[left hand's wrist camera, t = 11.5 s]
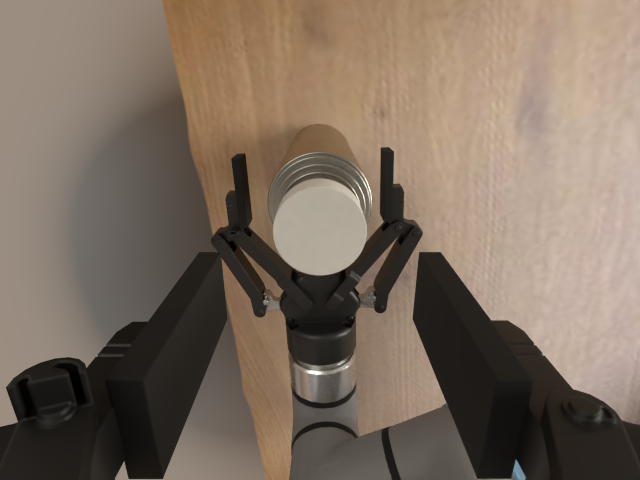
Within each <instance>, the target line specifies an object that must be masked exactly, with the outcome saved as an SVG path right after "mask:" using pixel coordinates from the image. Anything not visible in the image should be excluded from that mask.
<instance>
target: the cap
mask: <svg viewBox="0 0 640 480" xmlns="http://www.w3.org/2000/svg"><path fill="white" fill-rule="evenodd" d="M366 237H367V226H366V221H365V217H364V214H363V211H362V209H361V206H360V203H359V201H358V200H357V198H356V197H355V195H354V194H353V193H352V192H351V191H350V190H349V189H348V188H347V187H345V186H344V185H342V184H340V183H338V182H336V181H333V180H329V179H311V180H307V181H304V182H301V183H299V184H297V185H296V186H294V187H293V188H292V189H290V190H289V191H288V192H287V193H286V195H285V196H284V197H283V199H282V201H281V202H280V205H279V207H278V210H277V213H276V216H275V219H274V223H273V239H274V243H275V246H276V248H277V250H278V252H279V254H280V255H281V257H282V258H283V259H284V260H285V261H286V262H287V263H288V264H289V265H290V266H292V267H293V268H294V269H296V270H298V271H300V272H303V273H306V274H310V275H329V274H334V273H337V272H339V271H341V270H343V269H345V268H347V267H348V266H350V265H351V264H352V263H353V262H354V261H355V260H356V259H357V258H358V256H359V255H360V253H361V252H362V250H363V248H364V245H365V242H366Z"/></svg>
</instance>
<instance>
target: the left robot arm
mask: <svg viewBox="0 0 640 480" xmlns="http://www.w3.org/2000/svg"><path fill="white" fill-rule="evenodd" d="M226 321H227V311H226V301H225V291H224V280H223V270H222V260H221V252H199V253H198V255H197V256H196V258H195V259H194V260H193V262H192V263H191V264H190V266H189V267H188V268H187V270H186V271H185V272H184V274H183V275H182V277H181V278H180V279H179V281H178V282H177V283H176V285H175V286H174V287H173V289H172V290H171V291H170V293H169V294H168V295H167V297H166V298H165V300H164V301H163V302H162V304H161V305H160V306H159V308H158V309H157V310H156V312H155V313H154V314H153V316H152V317H151V318H150V320H149V321H148V322H132V323H130V324H128V325H127V326H125V327H124V328H122V329H121V330H119V331H118V332H116V334H115V335H114V336H113V337H112V338H111V340H110V341H109V342H108V343H107V345H106V347H104V348H103V349H102V350H101V352H100V353H99V354H98V357H95V359H94V360H93V361H92V362H91V363H90V365H89V366H88V367H87V368H86V366H85V363H83V362H82V361H81V360H79V359H75V358H69V357H67V358H57V359H52V360H49V361H45V362H42V363H39V364H37V365H35V366H32V367H30V368H28V369H26V370H25V371H23V372H22V373H20V374H19V375H18V376H16V377H15V378H13V380H12V381H11V382H10V383H9V385H8V386H7V387H6V389H7V392H8V395H9V397H10V400H11V403H12V406H13V409H14V412H15V414H16V417H17V420H18V423H15V424H11V425H7V426H2V427H0V480H115V477H116V475H117V473H118V471H119V470H120V468H121V466H122V464H123V462H124V461H125V465H126V470H127V474H128V478H129V479H163V477H164V474H165V472H166V469H167V467H168V464H169V462H170V460H171V457H172V455H173V452H174V450H175V447H176V445H177V442H178V440H179V437H180V435H181V432H182V430H183V427H184V425H185V422H186V420H187V417H188V415H189V412H190V410H191V407H192V405H193V403H194V400H195V398H196V395H197V393H198V390H199V388H200V385H201V383H202V380H203V378H204V375H205V373H206V370H207V368H208V365H209V363H210V360H211V358H212V355H213V353H214V350H215V348H216V346H217V343H218V341H219V338H220V336H221V333H222V331H223V328H224V326H225V323H226ZM413 321H414V323H415V326H416V328H417V331H418V333H419V336H420V338H421V341H422V343H423V346H424V348H425V350H426V353H427V355H428V358H429V360H430V363H431V365H432V368H433V370H434V373H435V375H436V378H437V380H438V383H439V385H440V388H441V390H442V393H443V395H444V398H445V400H446V403H447V405H448V407H449V410H450V412H451V415H452V417H453V420H454V422H455V425H456V427H457V430H458V432H459V435H460V437H461V440H462V442H463V445H464V447H465V450H466V452H467V455H468V457H469V460H470V462H471V465H472V467H473V469H474V472H475V474H476V477H477V479H511V478H512V474H513V470H514V465H515V461H516V460H517V462H518V464H519V466H520V467H521V469H522V471H523V473H524V475H525V477H526V478H525V480H640V425H637V424H632V423H628V422H624V421H622V420H621V419H620V417H619V416H618V415H617V413H616V412H615V411H614V410H613V409H612V408H611V407H609V406H608V405H607V404H606V403H605V402H603V401H601V400H599V399H597V398H596V397H594V396H592V395H590V394H587V393H584V392H580V391H577V390H573V389H572V388H571V387H570V385H569V384H568V383H567V382H566V381H565V379H564V378H563V377H562V376H561V375H560V374H559V372H558V371H557V370H556V369H555V368H554V366H553V365H552V364H551V363H550V362H549V360H548V359H547V358H546V357H545V356H543V355H542V352H541V351H540V350H539V349H538V347H537V346H536V345H534V343H533V341H532V340H531V339H530V338H529V337H528V335H527V334H526V333H525V332H524V331H523V330H521V329H520V328H518V327H517V326H515V325H514V324H512V323H511V322H509V321H491V320H490V318H489V317H488V316H487V314H486V313H485V312H484V310H483V309H482V308H481V306H480V305H479V304H478V302H477V301H476V299H475V298H474V297H473V295H472V294H471V293H470V291H469V290H468V289H467V287H466V286H465V285H464V283H463V282H462V281H461V279H460V278H459V276H458V275H457V274H456V272H455V271H454V270H453V268H452V267H451V266H450V264H449V263H448V262H447V260H446V259H445V258H444V256H443V255H442V253H441V252H419V260H418V270H417V280H416V291H415V301H414V311H413Z"/></svg>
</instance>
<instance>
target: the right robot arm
mask: <svg viewBox="0 0 640 480" xmlns="http://www.w3.org/2000/svg"><path fill="white" fill-rule="evenodd" d="M231 160H232V168H233V176H234V184H235V191H230V192H229V193H228V194H227V196H226V205H227V214H228V221H229V225H228V226H226V227H221V228H219V229H218V230H217V232H216V233H215V234H214V236H213V237H212V239H211V243H212V245H213V246H214V247H215V249H216V250H217V252H221V257H222V259H223V260H224V262H225V263H226V265H227V266H228V267H229V269H230V270H231V272H232V273H233V275H234V276H235V277H236V279H237V280H238V282H239V283H240V285H241V286H242V288H243V289H244V290H245V292H246V293H247V295H248V296H249V298H250V299H251V303H252V307H253V311H254V314H255V315H256V316H257V317H263V316H264V315H265V313H266V312H267V311H274V310H281V311H282V312H283V314H284V316H285V320H286V332H287V343H288V350H289V355H288V356H289V367H290V377H291V387H292V397H293V432H292V446H291V450H292V451H291V454H292V460H291V469H290V478H289V480H525V478H526V477H525V475H524V473H523V471H522V469H521V467H520V466H519V464H518V462H517V460H516V461H515V465H514V470H513V474H512V478H511V479H477V477H476V474H475V472H474V469H473V467H472V465H471V462H470V460H469V457H468V455H467V452H466V450H465V447H464V445H463V442H462V440H461V437H460V435H459V432H458V430H457V427H456V425H455V422H454V420H453V417H452V415H451V412H450V410H449V407H448V405H447V403H446V404H444V405H443V407H441V408H438V409H435V410H433V411H430V412H428V413H425V414H422V415H420V416H417V417H415V418H412V419H410V420H407V421H404V422H402V423H399V424H397V425H394V426H390V427H387V428H384V429H380V430H378V431H375V432H372V433H369V434H366V435H364V436H361V437H359V429H358V420H357V401H356V380H357V373H356V349H355V347H356V312H357V310H358V308H359V307H369V308H375V311H376V312H377V313H383V312H384V311H385V310H386V307H387V300H388V294H389V292H390V291H391V289H392V287H393V285H394V284H395V282H396V280H397V278H398V277H399V275H400V273H401V271H402V270H403V268H404V266H405V264H406V263H407V261H408V259H409V257H410V256H411V254H412V252H413V250H414V249H415V247H416V245H417V244H418V242H419V240H420V238H421V237H422V234H423V233H422V230H421V228H420V227H419V226H418V224H417V223H416V222H415V221H414V220H407V219H405V218H403V210H404V191H403V188H402V186H401V185H400V184H393V165H394V151H392V150H391V149H390V148H389V147H387V148H381V178H380V215H381V217H382V219H383V221H384V222H383V224H382V225H381V226H380V227H379V228H378V229H377V230H376V232H375V233H374V234H373V235H372V236H371V237H370V238H369V240H368V241H367V242H366V243H365V245H364V248H363V250H362V252H361V253H360V255H359V256H358V258H357V259H356V260H355V261H354V262H353V263H352V264H351V265H350V266H348V267H347V268H345V269H343V270H341V271H339V272H337V273H334V274H329V275H310V274H306V273H303V272H300V271H299V272H298V271H297V270H296V269H294V268H293V267H292V266H290V265H289V264H288V263H286V262H285V261H284V260H283V259H282V258H281V257H280V256H279V255H278V254H276V253H275V252H274V251H273V250H272V249H271V248H270V247H269V246H268V245H267V244H266V243H265V242H264V241H263V240H262V239H261V238H260V237H259V236H258V235H257V234H256V233H255V232H254V231H252V230H251V229H250V228H249V227H248V226H249V224H250V222H251V220H252V211H251V202H250V193H249V184H248V175H247V165H246V156H245V154H237V155H235V156H234V157H233V158H232V159H231ZM397 237H398V238H397ZM396 238H397V240H396V242H395V243H394V245H393V247H392V249H391V251H390V252H389V254H388V256H387V258H386V260H385V261H384V263H383V265H382V267H381V269H380V271H379V272H378V274H377V276H376V278H375V281H374V285H373V286H369V287H368V288H367V290H366V292H365V293H364V294H359V293H358V291H357V290H356V289H355V288H354V287H355V286H356V285H357V284H358V283H359V281H360V278H361V277H362V276H363V274H364V273H365V272H366V271H367V270H368V269H369V268H370V267H371V266H372V265H373V263H374V262H375V261H376V260H377V259H378V258H379V257H380V256H381V255H382V253H383V252H384V251H385V250H386V249H387V248H388V247H389V246H390V245H391V243H392V242H393V241H394V240H395V239H396ZM238 245H239V246H240V247H241V248H242V249H243V250H244V251H245V252H246V253H247V254H248V255H249V256H250V257H251V258H252V259H254V260H255V261H256V262H257V263H258V264H259V265H260V266H261V267H262V268H263V269H264V270H265V271H266V272H267V273H269V274H270V275H271V276H272V277H273V278H274V279H275V280H276V281H277V284H278V285H279V286H280V287H281V288H282V289H283V290H284V292H283V293H282V295H281V297H275V296H274V295H273V293H272V292H271V291H270V290H269V289H267V290H266V288H265V286H264V283H263V282H262V280H261V278H260V277H259V275H258V274H257V272H256V271H255V269H254V268H253V266H252V265H251V263H250V262H249V261H248V259H247V258H246V256H245V255H244V253H243V252H242V250H241V249H240V247H239V246H238Z"/></svg>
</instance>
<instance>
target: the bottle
mask: <svg viewBox="0 0 640 480" xmlns="http://www.w3.org/2000/svg"><path fill="white" fill-rule="evenodd" d="M311 179H329V180H333V181H336V182H338V183H340V184H342V185H344V186H345V187H347V188H348V189H349V190H350V191H351V192H352V193H353V194H354V195H355V197H356V198H357V200H358V201H359V203H360V206H361V209H362V211H363V214H364V217H365V221H366V224H367V222H368V220H369V217H370V214H371V209H372V195H371V190H370V187H369V184H368V182H367V180H366V178H365V176H364V174H363V172H362V170H361V168H360V166H359V164H358V162H357V160H356V158H355V156H354V154H353V152H352V150H351V148H350V146H349V145H348V143H347V141H346V139H345V137H344V136H343V135H342V134H341V133H340V132H339V131H338V130H337V129H335V128H333V127H331V126H328V125H324V124H316V125H311V126H309V127H306V128H305V129H303V130H302V131H300V132H299V133H298V134H297V136H296V137H295V139H294V140H293V142H292V144H291V146H290V148H289V150H288V152H287V154H286V156H285V158H284V160H283V162H282V163H281V165H280V167H279V169H278V171H277V173H276V175H275V177H274V179H273V181H272V183H271V186H270V189H269V193H268V210H269V215H270V218H271V221H272V223H274V219H275V216H276V213H277V210H278V207H279V205H280V202H281V201H282V199H283V197H284V196H285V195H286V193H287V192H288V191H289V190H290V189H292V188H293V187H294V186H296V185H297V184H299V183H301V182H304V181H307V180H311Z"/></svg>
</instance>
